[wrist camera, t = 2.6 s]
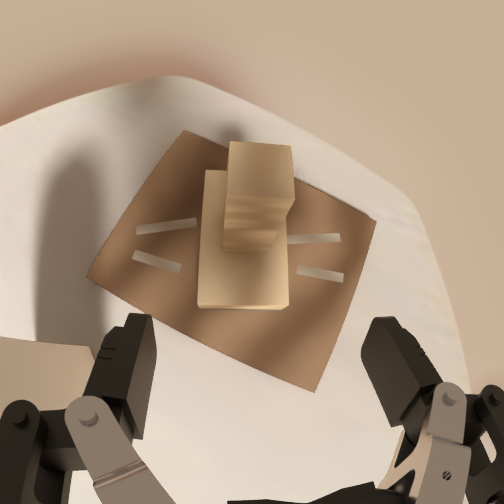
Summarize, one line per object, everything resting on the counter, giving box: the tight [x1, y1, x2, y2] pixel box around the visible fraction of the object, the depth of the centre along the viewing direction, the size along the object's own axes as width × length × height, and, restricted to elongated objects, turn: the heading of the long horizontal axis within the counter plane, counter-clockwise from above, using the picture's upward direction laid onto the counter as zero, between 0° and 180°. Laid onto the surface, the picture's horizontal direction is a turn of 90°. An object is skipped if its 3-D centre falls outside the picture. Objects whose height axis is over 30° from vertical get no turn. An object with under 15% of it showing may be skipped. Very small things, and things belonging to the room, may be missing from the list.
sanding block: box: [197, 141, 295, 311], centre depth 19 cm, size 6×10×11 cm, turn 0°
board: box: [86, 131, 377, 393], centre depth 25 cm, size 20×16×1 cm
